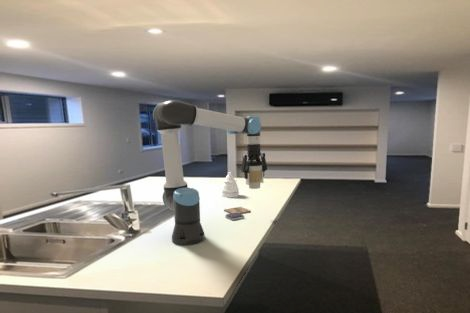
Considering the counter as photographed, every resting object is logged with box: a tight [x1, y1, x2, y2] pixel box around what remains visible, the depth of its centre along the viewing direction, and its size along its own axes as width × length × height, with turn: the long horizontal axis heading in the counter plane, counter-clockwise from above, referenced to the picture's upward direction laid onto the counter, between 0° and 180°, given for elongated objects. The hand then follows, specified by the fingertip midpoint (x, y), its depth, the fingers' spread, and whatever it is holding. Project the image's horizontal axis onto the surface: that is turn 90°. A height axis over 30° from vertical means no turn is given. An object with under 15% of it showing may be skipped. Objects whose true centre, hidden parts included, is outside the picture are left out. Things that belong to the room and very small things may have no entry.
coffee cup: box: [246, 160, 263, 190], centre depth 181 cm, size 10×10×15 cm
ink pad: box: [224, 213, 245, 221], centre depth 182 cm, size 8×8×2 cm
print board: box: [223, 206, 252, 215], centre depth 195 cm, size 12×12×1 cm
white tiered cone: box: [221, 171, 240, 199], centre depth 240 cm, size 13×13×18 cm
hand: (254, 183), depth 181 cm, fingers closed on coffee cup, 9 cm apart
